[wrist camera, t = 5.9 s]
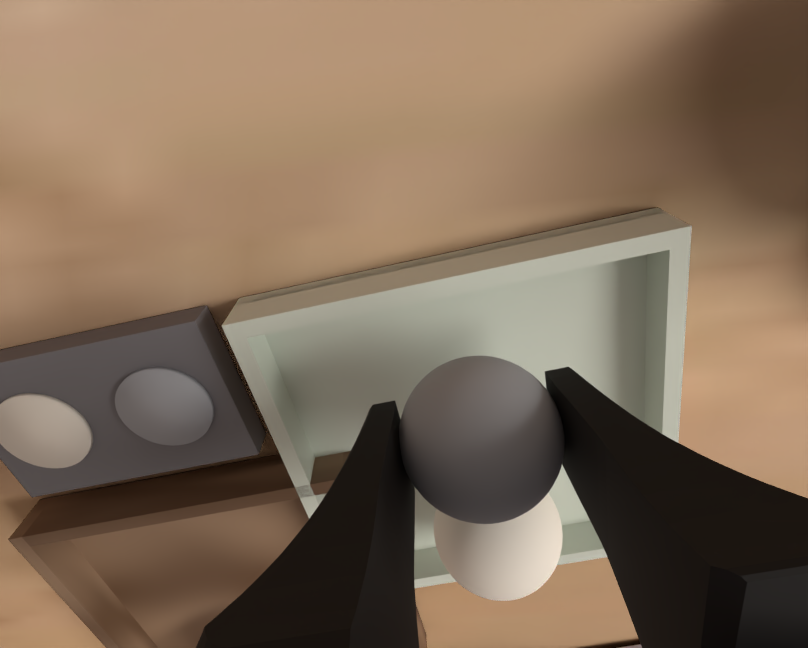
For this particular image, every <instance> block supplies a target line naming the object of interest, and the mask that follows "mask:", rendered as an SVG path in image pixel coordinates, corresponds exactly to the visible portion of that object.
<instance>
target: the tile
mask: <svg viewBox="0 0 808 648" xmlns="http://www.w3.org/2000/svg"><path fill="white" fill-rule="evenodd" d="M265 435H266V433H265V431H264V428H263V426H262V424H261V422H260V420H259V418H258V415H257V413H256V411H255V409H254V407H253V404H252V402H251V400H250V398H249V396H248V394H247V391H246V389H245V387H244V385H243V383H242V381H241V378H240V376H239V374H238V372H237V370H236V368H235V365H234V363H233V361H232V359H231V357H230V355H229V352H228V350H227V348H226V346H225V344H224V341H223V339H222V337H221V335H220V333H219V331H218V328H217V326H216V324H215V322H214V320H213V318H212V315H211V313H210V311H209V309H208V307H207V305H205V306H201V307H196V308H191V309H187V310H182V311H177V312H173V313H168V314H164V315H159V316H154V317H150V318H145V319H141V320H136V321H131V322H127V323H122V324H117V325H113V326H108V327H104V328H99V329H94V330H90V331H85V332H81V333H76V334H71V335H67V336H62V337H57V338H53V339H48V340H44V341H39V342H34V343H30V344H25V345H21V346H16V347H11V348H7V349H2V350H0V459H1V460H2V461H3V463H4V464H5V465H6V466H7V468H8V469H9V470H10V471H11V472H12V474H13V475H14V476H15V477H16V479H17V480H18V481H19V482H20V483H21V485H22V486H23V487H24V488H25V489H26V491H27V492H28V493H29V494H30V496H31V497H37V496H42V495H47V494H52V493H58V492H63V491H68V490H74V489H79V488H84V487H89V486H95V485H100V484H105V483H110V482H116V481H121V480H126V479H132V478H137V477H142V476H147V475H153V474H158V473H163V472H169V471H174V470H179V469H184V468H190V467H195V466H200V465H205V464H211V463H216V462H221V461H227V460H232V459H237V458H242V457H248V456H253V455H258V454H259V453H260V450H261V447H262V444H263V441H264V438H265Z"/></svg>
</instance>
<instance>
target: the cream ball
mask: <svg viewBox="0 0 808 648" xmlns="http://www.w3.org/2000/svg"><path fill="white" fill-rule="evenodd" d="M434 537H435V543H436V547H437V550H438V553H439V556H440V558H441V560H442V562H443V564H444V566H445V568H446V569H447V571H448V572H449V573H450V575H451V576H452V577H453V578H454V579H455V580H456V581H457V582H458V583H459V584H460V585H461V586H463V587H464V588H465V589H467V590H468V591H470V592H471V593H473V594H476V595H478V596H480V597H483V598H486V599H490V600H497V601H510V600H516V599H519V598H522V597H525V596H527V595H529V594H531V593H533V592H535V591H536V590H538V589H539V588H540V587H541V586H542V585H543V584H544V583H545V582H546V581H547V580H548V579H549V578H550V576H551V575H552V573H553V571H554V570H555V568H556V566H557V563H558V561H559V558H560V554H561V549H562V539H563V532H562V524H561V519H560V516H559V513H558V510H557V508H556V505H555V503H554V501H553V499H552V498H551V496H550V495H549V493H548V494H547V495H546V496H545V497H544V498H543V499H542V500H541V501H540V502H539V503H538V504H537V505H536V506H535V507H534V508H532V509H531V510H529V511H528V512H526V513H524V514H522V515H521V516H519V517H516V518H514V519H512V520H508V521H505V522H500V523H494V524H476V523H470V522H465V521H461V520H458V519H455V518H453V517H450V516H448V515H446V514H444V513H443V512H441V511H439V510H438V509H436V511H435V517H434Z"/></svg>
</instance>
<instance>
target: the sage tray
mask: <svg viewBox="0 0 808 648" xmlns="http://www.w3.org/2000/svg"><path fill="white" fill-rule="evenodd" d="M691 231H692V226H691V225H689V224H687V223H686V222H684V221H682V220H680V219H678V218H676V217H675V216H673V215H671V214H669V213H667V212H665V211H664V210H662V209H660V208H658V207H657V208H653V209H648V210H643V211H639V212H634V213H630V214H625V215H620V216H616V217H611V218H607V219H602V220H597V221H593V222H588V223H584V224H579V225H574V226H570V227H565V228H560V229H556V230H551V231H547V232H542V233H537V234H533V235H528V236H524V237H519V238H514V239H510V240H505V241H500V242H496V243H491V244H487V245H482V246H477V247H473V248H468V249H464V250H459V251H454V252H450V253H445V254H440V255H436V256H431V257H427V258H422V259H417V260H413V261H408V262H404V263H399V264H394V265H390V266H385V267H380V268H376V269H371V270H367V271H362V272H357V273H353V274H348V275H344V276H339V277H334V278H330V279H325V280H320V281H316V282H311V283H307V284H302V285H297V286H293V287H288V288H284V289H279V290H274V291H270V292H265V293H260V294H256V295H251V296H247V297H242V298H239V299H238V301H237V302H236V304H235V305H234V307H233V309H232V310H231V312H230V313H229V315H228V317H227V318H226V320H225V321H224V323H223V324H222V328H223V330H224V332H225V335H226V337H227V339H228V341H229V343H230V346H231V348H232V350H233V352H234V354H235V357H236V359H237V361H238V363H239V365H240V368H241V370H242V372H243V374H244V376H245V379H246V381H247V383H248V385H249V387H250V390H251V392H252V394H253V396H254V398H255V401H256V403H257V405H258V407H259V409H260V412H261V414H262V416H263V418H264V420H265V423H266V425H267V427H268V429H269V431H270V434H271V436H272V438H273V440H274V442H275V445H276V447H277V449H278V451H279V453H280V456H281V458H282V460H283V462H284V464H285V467H286V469H287V471H288V473H289V475H290V478H291V480H292V482H293V484H294V486H295V489H296V490H297V489H299V488H300V490H301V489H302V488H303V487H304V486H305V487H304V488H303V489H305V490H301V491H302V493H303V494H304V495H303V497H302V496H300V495H302V493H301V491H300V490H299V491H298V492H297V493H299V492H300V493H301V494H300V495H299V497H300V500H301V502H302V504H303V506H304V508H305V511H306V513H307V515H308V517H309V518H310V517H311V516H312V514H313V513H314V511H315V510H316V509H317V507H318V506H319V504H320V503H321V501H322V500H323V498H324V497H325V495H326V494H327V493H326V494H320V495H314V493H313V491H312V488H311V486H310V482H311V477H312V471H313V466H314V461H315V457H321V456H326V455H331V454H337V453H342V452H347V451H351V449H352V447H353V445H354V443H355V441H356V439H357V437H358V435H359V433H360V431H361V428H362V426H363V424H364V421H365V419H366V417H367V414H368V412H369V409H370V408H371V406H372V405H374V404H379V403H384V402H389V401H394V400H395V402H396V405H397V409H398V412H399V416H400V419H401V416H402V413H403V409H404V406H405V404H406V402H407V400H408V398H409V396H410V394H411V393H412V391H413V390H414V388H415V387H416V385H417V384H418V383H419V382H420V381H421V380H422V379H423V378H424V377H425V376H426V375H427V374H428V373H430V372H431V371H432V370H434V369H435V368H437V367H438V366H440V365H442V364H444V363H446V362H449V361H451V360H454V359H458V358H462V357H467V356H492V357H497V358H501V359H504V360H507V361H510V362H512V363H514V364H516V365H518V366H520V367H522V368H523V369H525V370H526V371H528V372H529V373H531V374H532V375H533V376H534V377H535V378H537V379H538V380H539V381H540V382H541V383H542V385H543V386H544V387H545V388H546V380H545V371H549V370H554V369H559V368H564V367H570V368H571V369H573V370H574V371H575V372H576V373H578V374H579V375H580V376H581V377H583V378H584V379H585V380H586V381H588V382H589V383H590V384H591V385H593V386H594V387H595V388H596V389H598V390H599V391H600V392H602V393H603V394H604V395H606V396H607V397H608V398H610V399H611V400H612V401H614V402H615V403H616V404H618V405H619V406H621V407H622V408H623V409H625V410H626V411H628V412H629V413H630V414H632V415H633V416H635V417H636V418H638V419H639V420H641V421H642V422H644V423H645V424H647V425H649V426H650V427H652V428H653V429H655V430H657V431H658V432H660V433H661V434H663V435H665V436H667V437H668V438H670V439H672V440H674V441H676V442H677V443H678V439H679V423H680V407H681V391H682V375H683V359H684V343H685V327H686V311H687V295H688V279H689V263H690V247H691ZM300 486H301V487H300ZM296 487H298V488H296ZM307 487H309V488H307ZM414 488H415V487H414ZM307 489H309V490H307ZM306 491H307V493H306ZM311 491H312V492H311ZM304 492H305V493H304ZM311 493H312V494H311ZM548 493H549V495H550V496H551V498H552V499H553V501H554V503H555V505H556V508H557V510H558V513H559V516H560V519H561V524H562V532H563V539H562V549H561V554H560V558H559V561H558V563H557V565H561V564H568V563H574V562H580V561H586V560H592V559H598V558H604V557H607V555H606V552H605V550H604V548H603V546H602V543H601V541H600V539H599V537H598V535H597V533H596V531H595V529H594V527H593V525H592V523H591V521H590V519H589V517H588V515H587V513H586V511H585V509H584V508H583V506H582V504H581V502H580V500H579V498H578V496H577V494H576V492H575V490H574V488H573V486H572V484H571V481H570V479H569V477H568V475H567V473H566V471H565V469H564V467H563V465H562V466H561V469H560V472H559V475H558V477H557V479H556V481H555V483H554V485H553V487H552V488H551V490H550V491H549V492H548ZM305 494H306V496H305ZM307 495H310V496H309V497H307ZM311 495H312V496H311ZM313 495H314V496H313ZM435 511H436V508H435V507H434V506H432V505H431V504H430V503H429V502H428V501H427V500H425V499H424V498H423V496H422V495H421V494H420V493H419V492H418V490H417V489H416V488H415V543H414V586H415V588H420V587H426V586H432V585H438V584H444V583H451V582H457V581H456V580H455V579H454V578H453V577H452V576H451V575H450V573H449V572H448V571H447V569H446V568H445V566H444V564H443V562H442V560H441V558H440V556H439V553H438V550H437V547H436V543H435V537H434V517H435Z"/></svg>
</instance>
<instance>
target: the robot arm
mask: <svg viewBox="0 0 808 648" xmlns="http://www.w3.org/2000/svg"><path fill="white" fill-rule="evenodd" d="M545 380H546V389H547V391H548V392H549V393H550V395H551V397H552V398H553V400H554V402H555V404H556V406H557V408H558V411H559V413H560V417H561V420H562V424H563V429H564V435H565V450H564V457H563V462H562V465H563V467H564V469H565V471H566V473H567V475H568V477H569V479H570V481H571V484H572V486H573V488H574V490H575V492H576V494H577V496H578V498H579V500H580V502H581V504H582V506H583V508H584V509H585V511H586V513H587V515H588V517H589V519H590V521H591V523H592V525H593V527H594V529H595V531H596V533H597V535H598V537H599V539H600V541H601V543H602V546H603V548H604V550H605V552H606V555H607V557H608V559H609V561H610V564H611V567H612V569H613V572H614V574H615V577H616V580H617V582H618V585H619V587H620V590H621V592H622V595H623V598H624V600H625V603H626V606H627V608H628V611H629V614H630V616H631V619H632V622H633V624H634V627H635V630H636V632H637V635H638V638H639V640H640V643H641V644H639V645H632V646H625V647H618V648H808V498H805V497H802V496H799V495H797V494H794V493H791V492H788V491H786V490H783V489H780V488H777V487H775V486H772V485H769V484H766V483H764V482H761V481H759V480H756V479H754V478H751V477H749V476H746V475H744V474H742V473H740V472H737V471H735V470H733V469H730V468H728V467H726V466H724V465H721V464H719V463H717V462H715V461H713V460H711V459H708V458H706V457H704V456H702V455H700V454H698V453H696V452H694V451H693V450H691V449H689V448H687V447H685V446H683V445H681V444H679V443H677V442H676V441H674V440H672V439H670V438H668V437H667V436H665V435H663V434H661V433H660V432H658V431H657V430H655V429H653V428H652V427H650V426H649V425H647V424H645V423H644V422H642V421H641V420H639V419H638V418H636V417H635V416H633V415H632V414H630V413H629V412H628V411H626V410H625V409H623V408H622V407H621V406H619V405H618V404H616V403H615V402H614V401H612V400H611V399H610V398H608V397H607V396H606V395H604V394H603V393H602V392H600V391H599V390H598V389H596V388H595V387H594V386H593V385H591V384H590V383H589V382H588V381H586V380H585V379H584V378H583V377H581V376H580V375H579V374H578V373H576V372H575V371H574V370H573V369H571V368H570V367H564V368H559V369H554V370H549V371H545ZM400 420H401V419H400V416H399V412H398V409H397V405H396V402H395V400H394V401H389V402H384V403H379V404H374V405H372V406H371V408H370V409H369V412H368V414H367V417H366V419H365V421H364V424H363V426H362V428H361V431H360V433H359V435H358V437H357V439H356V441H355V443H354V445H353V447H352V449H351V451H350V453H349V455H348V457H347V459H346V461H345V463H344V465H343V467H342V468H341V470H340V472H339V473H338V475H337V477H336V479H335V480H334V482H333V484H332V485H331V487H330V489H329V490H328V492H327V494H326V495H325V497H324V498H323V500H322V501H321V503H320V504H319V506H318V507H317V509H316V510H315V511H314V513H313V514H312V516H311V517H310V518H309V520H308V521H307V522H306V524H305V525H304V526H303V527H302V529H301V530H300V531H299V533H298V534H297V535H296V536H295V538H294V539H293V540H292V541H291V542H290V544H289V545H288V546H287V547H286V548H285V550H284V551H283V552H282V553H281V554H280V555H279V557H278V558H277V559H276V560H275V561H274V562H273V563H272V564H271V565H270V566H269V567H268V568H267V569H266V570H265V571H264V572H263V573H262V574H261V575H260V576H259V577H258V578H257V579H256V580H255V581H254V582H253V584H252V585H250V586H249V587H248V588H247V589H246V590H245V591H244V592H243V593H242V594H241V595H240V596H239V597H238V598H237V599H235V600H234V601H233V602H232V603H231V604H230V605H229V606H228V607H226V608H225V609H224V610H223V611H222V612H221V613H220V614H219V615H217V616H216V617H215V618H214V619H213V620H212V621H211V622H209V623H208V624H207V625H206V626H205V627H204V629H203V632H202V634H201V637H200V639H199V641H198V644H197V646H196V648H419V638H418V626H417V614H416V602H415V586H414V543H415V488H414V485H413V483H412V482H411V480H410V478H409V476H408V475H407V473H406V470H405V467H404V465H403V461H402V456H401V450H400V441H399V427H400Z"/></svg>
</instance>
